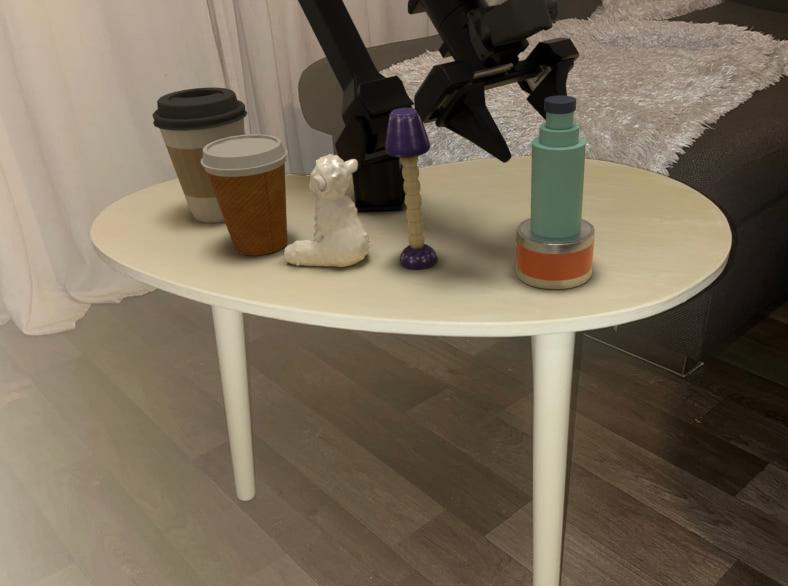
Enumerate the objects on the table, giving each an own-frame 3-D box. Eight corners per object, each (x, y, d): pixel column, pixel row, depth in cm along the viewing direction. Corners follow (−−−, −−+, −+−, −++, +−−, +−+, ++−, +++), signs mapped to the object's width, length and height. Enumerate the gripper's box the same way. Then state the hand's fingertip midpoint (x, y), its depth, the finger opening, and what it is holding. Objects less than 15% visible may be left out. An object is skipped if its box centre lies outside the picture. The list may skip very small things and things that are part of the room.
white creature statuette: (341, 234, 92) (328, 136, 86) (394, 250, 88) (385, 147, 81) (282, 263, 86) (264, 159, 79) (336, 281, 81) (322, 172, 75)
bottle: (520, 226, 79) (521, 98, 72) (559, 215, 81) (564, 89, 74) (551, 242, 75) (555, 109, 68) (591, 230, 77) (599, 99, 71)
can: (518, 290, 78) (518, 245, 75) (514, 257, 85) (514, 215, 82) (596, 288, 77) (600, 243, 75) (586, 255, 84) (589, 212, 81)
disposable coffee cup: (220, 235, 94) (199, 138, 87) (298, 225, 95) (283, 129, 89) (220, 266, 86) (196, 162, 79) (304, 255, 87) (288, 152, 81)
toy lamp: (431, 272, 82) (422, 116, 73) (390, 270, 83) (376, 116, 74) (440, 254, 86) (433, 104, 77) (401, 252, 87) (389, 103, 78)
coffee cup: (261, 193, 106) (241, 81, 98) (267, 222, 97) (246, 101, 89) (177, 204, 104) (149, 91, 96) (175, 234, 94) (144, 112, 86)
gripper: (426, -32, 65) (517, 121, 64) (569, -51, 75) (650, 81, 74) (378, 54, 74) (457, 189, 73) (512, 27, 84) (583, 145, 83)
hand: (540, 149), depth 76 cm, fingers open, 9 cm apart
